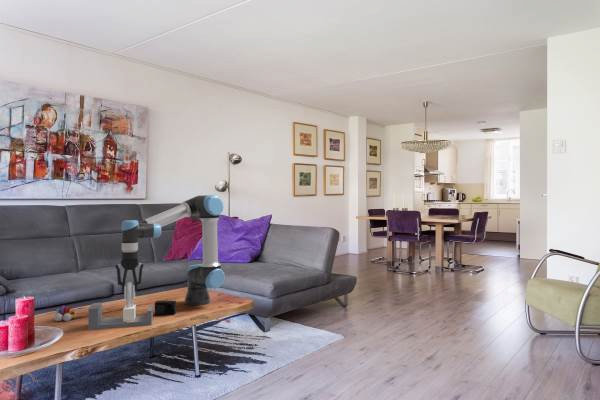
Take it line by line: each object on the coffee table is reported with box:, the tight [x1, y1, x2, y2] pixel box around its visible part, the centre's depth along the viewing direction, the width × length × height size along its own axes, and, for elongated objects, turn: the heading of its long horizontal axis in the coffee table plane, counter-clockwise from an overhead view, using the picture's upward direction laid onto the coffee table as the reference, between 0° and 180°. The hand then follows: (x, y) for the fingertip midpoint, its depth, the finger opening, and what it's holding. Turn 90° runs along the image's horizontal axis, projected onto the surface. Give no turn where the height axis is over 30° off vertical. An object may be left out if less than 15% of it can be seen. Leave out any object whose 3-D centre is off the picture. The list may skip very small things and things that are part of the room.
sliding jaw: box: [122, 281, 137, 322], centre depth 205 cm, size 5×9×18 cm, turn 17°
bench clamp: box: [87, 302, 154, 331], centre depth 204 cm, size 28×12×10 cm, turn 107°
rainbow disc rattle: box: [53, 305, 77, 322], centre depth 212 cm, size 8×10×7 cm
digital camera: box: [154, 300, 177, 317], centre depth 222 cm, size 10×5×7 cm, turn 97°
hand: (129, 298), depth 205 cm, fingers closed on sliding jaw, 3 cm apart
